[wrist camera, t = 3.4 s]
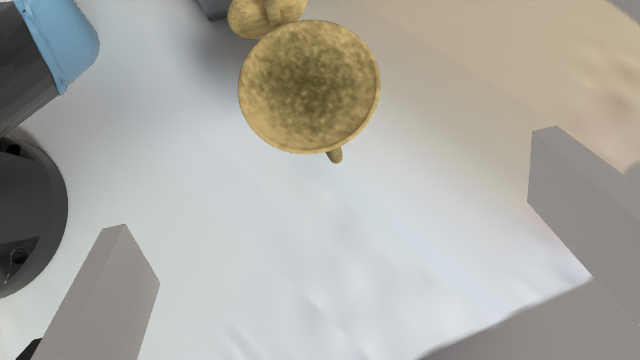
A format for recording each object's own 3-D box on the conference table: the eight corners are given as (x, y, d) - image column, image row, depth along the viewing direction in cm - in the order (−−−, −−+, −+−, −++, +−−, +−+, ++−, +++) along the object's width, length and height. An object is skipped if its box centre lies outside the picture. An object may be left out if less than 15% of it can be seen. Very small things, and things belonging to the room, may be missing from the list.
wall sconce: (236, 70, 40) (55, -231, 16) (327, 29, 40) (287, -331, 16) (292, 201, 37) (179, 83, 13) (390, 158, 37) (462, -42, 13)
